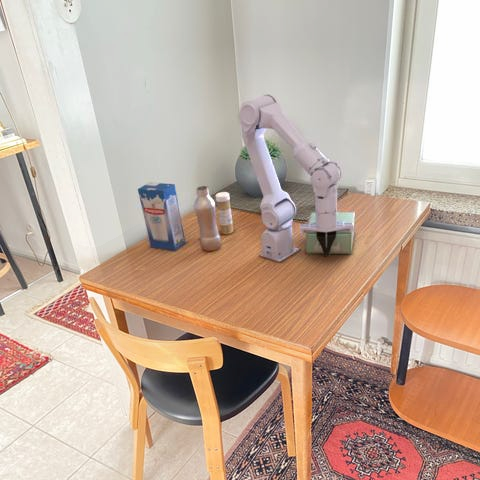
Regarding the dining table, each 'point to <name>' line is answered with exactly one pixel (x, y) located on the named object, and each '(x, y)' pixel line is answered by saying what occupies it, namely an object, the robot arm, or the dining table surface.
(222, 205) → the sprinkles bottle
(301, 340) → the dining table surface
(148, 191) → the milk carton
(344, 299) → the dining table surface
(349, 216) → the cabinet
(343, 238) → the drawer
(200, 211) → the plastic bottle
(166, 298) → the dining table surface
